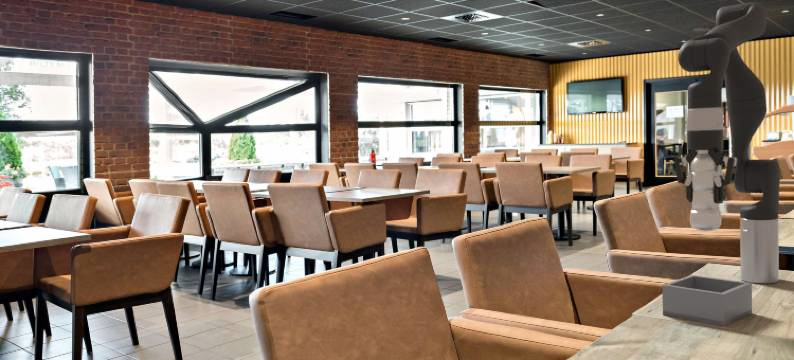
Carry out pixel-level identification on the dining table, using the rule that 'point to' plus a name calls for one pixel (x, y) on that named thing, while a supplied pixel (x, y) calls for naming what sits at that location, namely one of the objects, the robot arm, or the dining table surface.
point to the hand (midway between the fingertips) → (705, 202)
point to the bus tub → (707, 299)
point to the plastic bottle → (704, 193)
